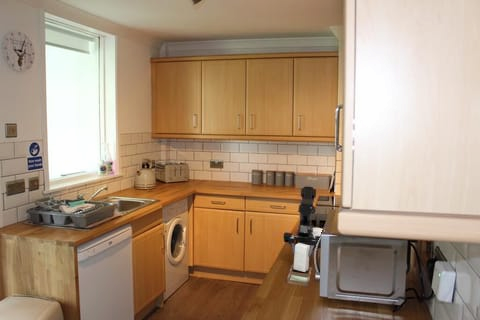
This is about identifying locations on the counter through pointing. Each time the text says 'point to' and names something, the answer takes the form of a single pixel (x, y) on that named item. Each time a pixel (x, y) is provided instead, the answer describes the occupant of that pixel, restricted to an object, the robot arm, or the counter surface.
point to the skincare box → (301, 257)
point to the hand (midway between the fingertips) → (301, 255)
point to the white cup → (317, 232)
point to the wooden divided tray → (299, 277)
